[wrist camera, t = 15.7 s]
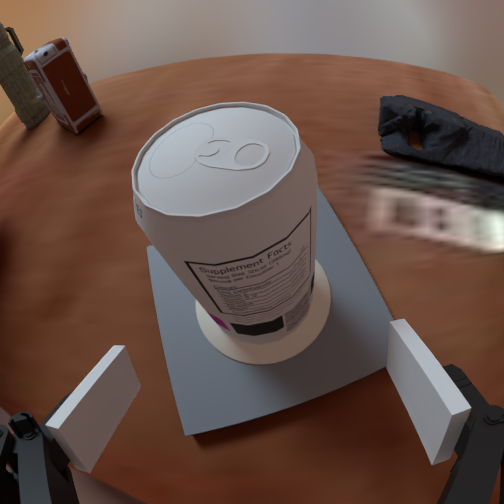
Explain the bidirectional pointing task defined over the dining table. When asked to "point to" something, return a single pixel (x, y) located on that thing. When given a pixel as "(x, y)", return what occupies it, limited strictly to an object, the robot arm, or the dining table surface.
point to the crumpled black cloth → (439, 135)
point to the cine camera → (63, 85)
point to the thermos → (19, 81)
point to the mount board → (274, 353)
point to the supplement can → (234, 215)
